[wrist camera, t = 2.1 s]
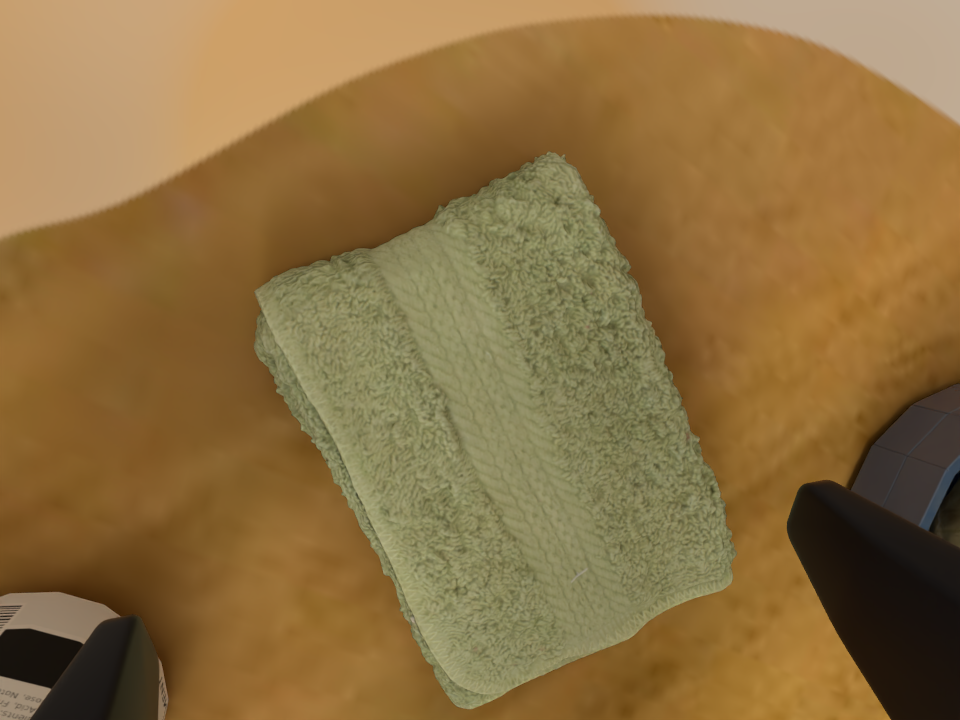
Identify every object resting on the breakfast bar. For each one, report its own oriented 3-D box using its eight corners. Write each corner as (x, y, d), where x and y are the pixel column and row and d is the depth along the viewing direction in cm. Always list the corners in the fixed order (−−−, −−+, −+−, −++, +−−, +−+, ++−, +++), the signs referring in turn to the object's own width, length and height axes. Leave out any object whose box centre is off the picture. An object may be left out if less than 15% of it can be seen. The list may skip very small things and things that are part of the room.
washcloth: (451, 705, 28) (467, 762, 24) (229, 297, 24) (215, 303, 21) (732, 544, 29) (781, 578, 26) (567, 139, 25) (601, 122, 22)
